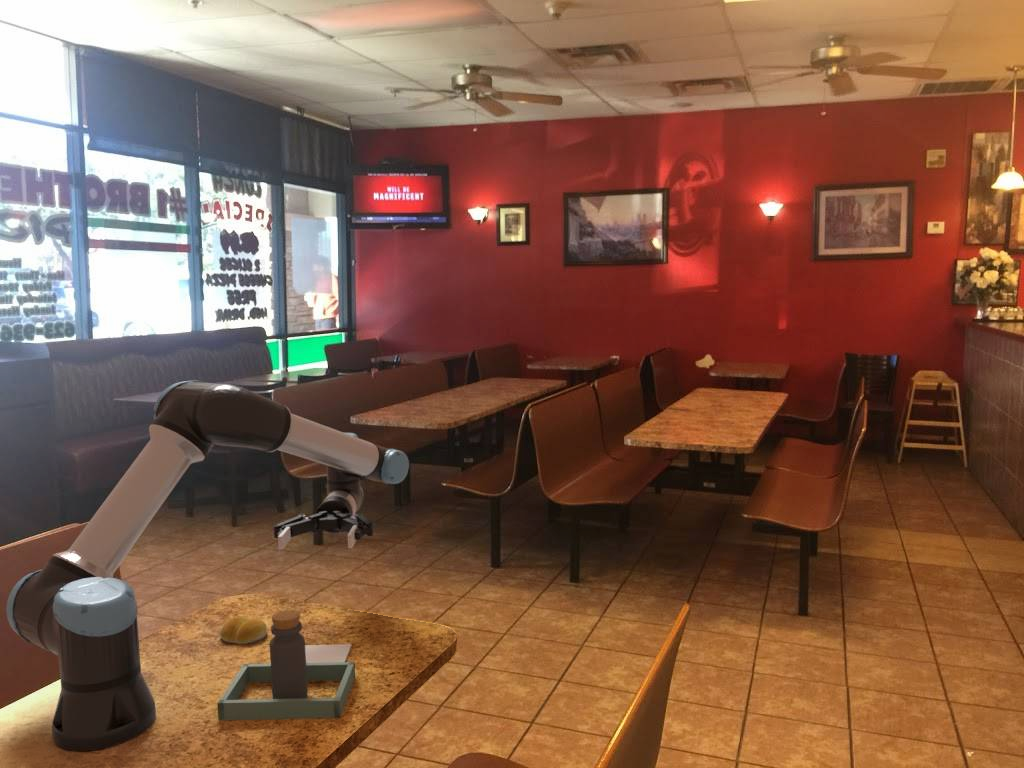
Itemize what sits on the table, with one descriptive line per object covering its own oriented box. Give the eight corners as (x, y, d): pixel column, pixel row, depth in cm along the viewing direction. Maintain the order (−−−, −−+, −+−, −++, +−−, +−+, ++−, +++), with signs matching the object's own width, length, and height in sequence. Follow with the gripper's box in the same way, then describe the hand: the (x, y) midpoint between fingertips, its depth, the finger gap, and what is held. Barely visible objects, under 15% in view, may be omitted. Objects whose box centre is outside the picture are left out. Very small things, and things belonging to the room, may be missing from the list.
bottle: (298, 707, 140) (294, 622, 139) (266, 705, 142) (261, 620, 140) (313, 691, 146) (309, 609, 144) (282, 688, 147) (278, 607, 145)
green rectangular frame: (218, 720, 137) (217, 703, 136) (244, 679, 151) (243, 664, 150) (340, 717, 137) (339, 700, 137) (355, 677, 151) (354, 661, 151)
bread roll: (253, 647, 165) (251, 628, 164) (214, 643, 167) (212, 624, 167) (275, 630, 172) (274, 612, 172) (238, 626, 175) (237, 608, 174)
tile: (266, 671, 154) (265, 669, 154) (280, 648, 164) (280, 645, 164) (341, 670, 154) (341, 667, 154) (351, 646, 164) (351, 644, 164)
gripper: (393, 527, 185) (379, 559, 164) (280, 529, 185) (252, 562, 163) (392, 494, 184) (378, 522, 163) (278, 496, 184) (250, 525, 163)
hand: (314, 542), depth 163 cm, fingers open, 13 cm apart
